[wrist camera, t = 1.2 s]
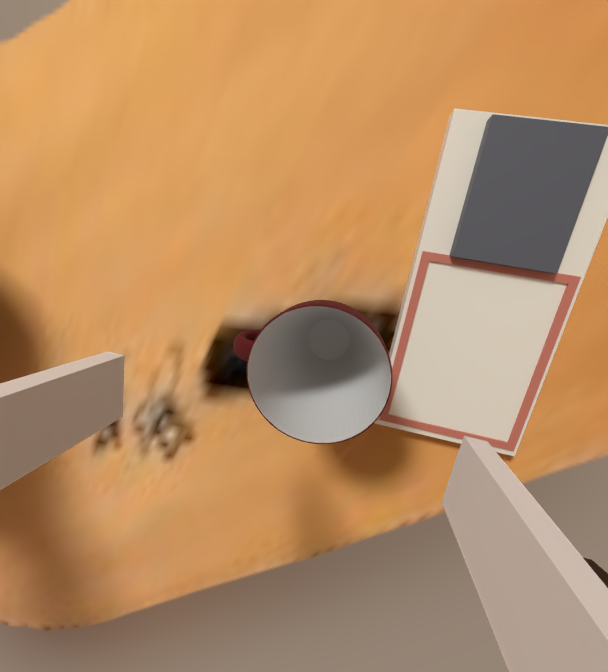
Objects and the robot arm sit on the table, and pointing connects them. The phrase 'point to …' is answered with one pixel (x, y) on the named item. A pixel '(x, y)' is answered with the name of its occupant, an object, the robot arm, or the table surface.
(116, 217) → the table surface
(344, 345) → the mug
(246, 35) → the table surface
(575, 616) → the robot arm
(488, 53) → the table surface
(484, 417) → the board
